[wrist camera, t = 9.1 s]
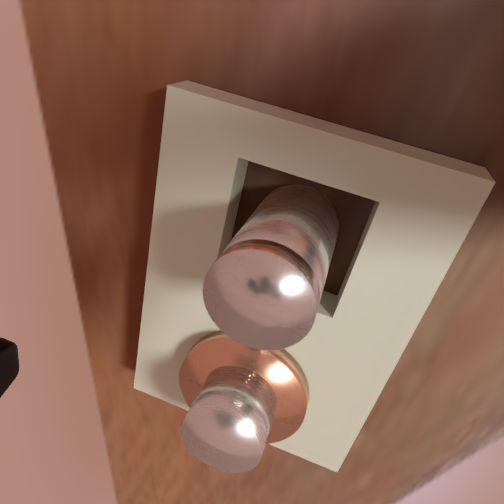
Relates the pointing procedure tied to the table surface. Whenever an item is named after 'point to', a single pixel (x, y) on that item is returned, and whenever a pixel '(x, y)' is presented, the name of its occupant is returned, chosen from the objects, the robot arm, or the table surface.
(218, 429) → the copper flanged knob
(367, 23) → the table surface
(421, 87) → the table surface
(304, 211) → the loose cylinder
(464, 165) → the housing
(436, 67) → the table surface
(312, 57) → the table surface
